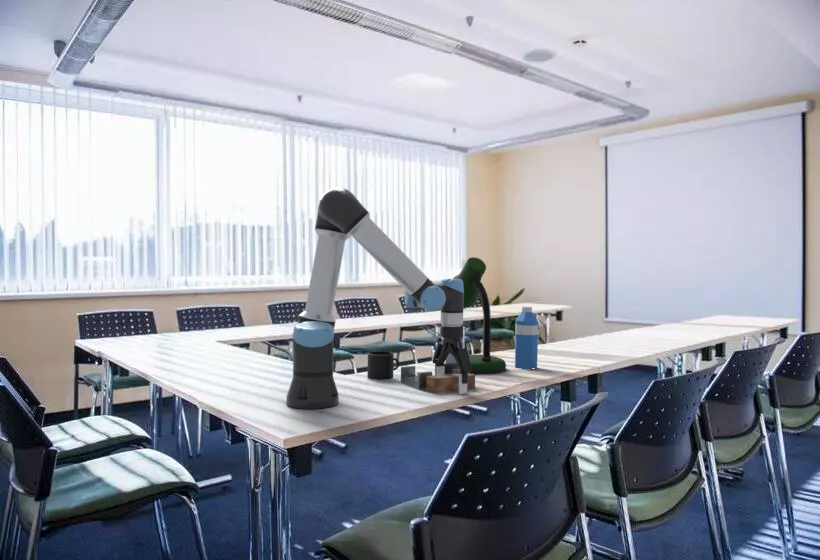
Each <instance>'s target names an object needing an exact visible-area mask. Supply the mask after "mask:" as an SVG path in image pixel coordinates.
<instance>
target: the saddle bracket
mask: <svg viewBox="0 0 820 560" xmlns="http://www.w3.org/2000/svg"><path fill="white" fill-rule="evenodd" d="M426 376H433V371H428V370H427V371H418V372H416V366H415V365H408V366H401V367H400V383H401V384H403V385H405V386H409V387H411V388H413V389H416V390H419V391H420V390H421V391H422V390H426Z"/></svg>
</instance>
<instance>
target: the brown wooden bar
mask: <svg viewBox="0 0 820 560" xmlns="http://www.w3.org/2000/svg"><path fill="white" fill-rule="evenodd" d="M473 389H474V390H476V374H470V373H468V383H467V391H470V390H471V391H472V390H473ZM425 390H426V391H427V392H428V393H431V394H441V393H450V392H459V374H448V375H435V374H434V375H432V376H426V389H425Z"/></svg>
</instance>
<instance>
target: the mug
mask: <svg viewBox="0 0 820 560" xmlns="http://www.w3.org/2000/svg"><path fill="white" fill-rule="evenodd" d="M394 362H396V365H395V367H394ZM399 367H400V361H399V360H398V359H397V358H396V357H394V352H392V351H385V350H384V351H382V350H381V351H380V350H379V351H378V350H377V351H370V352H368V353H367V371H366V372H367V379H369V380H372V381H373V380H374V381H387V380H388V381H389V380H391V379H394V371H396V370H398V368H399Z"/></svg>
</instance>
